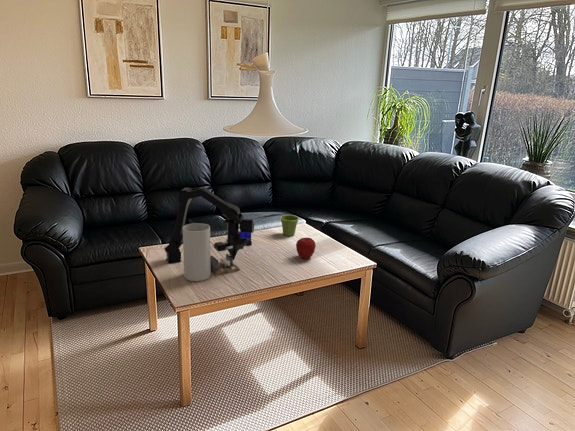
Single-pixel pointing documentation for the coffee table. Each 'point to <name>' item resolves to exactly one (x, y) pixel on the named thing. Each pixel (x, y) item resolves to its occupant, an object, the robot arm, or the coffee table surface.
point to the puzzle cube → (245, 234)
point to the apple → (305, 247)
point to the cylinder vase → (196, 251)
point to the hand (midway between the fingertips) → (233, 259)
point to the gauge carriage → (227, 261)
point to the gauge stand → (221, 267)
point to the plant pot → (289, 224)
